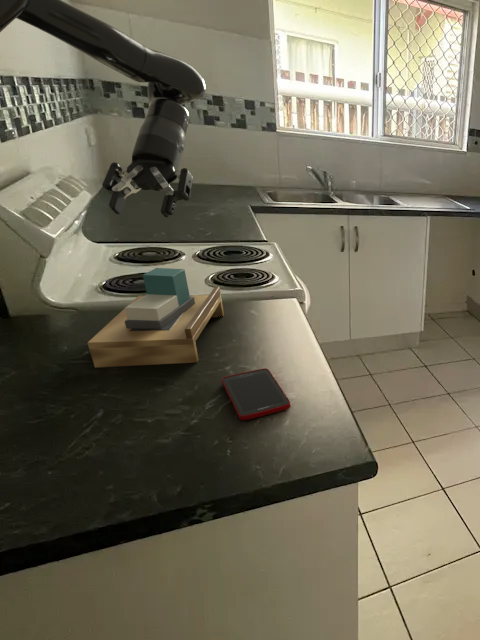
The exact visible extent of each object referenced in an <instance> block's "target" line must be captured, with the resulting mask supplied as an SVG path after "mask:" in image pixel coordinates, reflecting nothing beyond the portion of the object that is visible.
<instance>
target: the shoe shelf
mask: <svg viewBox="0 0 480 640" xmlns="http://www.w3.org/2000/svg"><path fill="white" fill-rule="evenodd" d="M189 295H190V294H189ZM143 296H144V295H138V296H137V297H136V298H134V299H133V300H132V301H131V302H130V303H129V304H128V305H130V304H132V303H133V302H135V301H137V300H138V299H140V298H142V297H143ZM190 297H194V300H195V304H194V305H192V306H191V307H190V308H189V309H187V310H186V311H185V312H183V313H182V314H181V315H179V316H178V317H177V318H175V319H174V320H173V321H171V322H170V323H169V324H167V325H166V326H165V327H163V328H162V329H136V328H126V325H125V320H127V319H128V318H127V315H126V311H125V308H123V310H121V311H120V312H119V313H118V314H117V315H116V316H114V317H113V319H111V321H109V322H108V323H107V324H105V326H104V327H103V328H101V330H99V331H98V332H97V333H96V334H95V335H94V336H93V337H92V338H91V339H90V340H88V341H87V346H88V350H89V353H90V356H91V359H92V363H93V367H94V368H95V369H96V368H114V367H115V368H116V367H133V366H134V367H135V366H154V365H155V366H156V365H174V364H190V363H191V364H193V363H194V364H195V363H198V362H199V360H200V358H199V354H198V349H197V344H196V343H197V342H196V341H197V340H198V338H199V337H200V335H201V334H202V332H203V331H204V329H205V327H206V326H207V324H208V323H209V321H210V319H211V318H223V317H224V316H225V311H224V306H223V300H222V294H221V287H220V286H214V287H213V289H212V290H211V291H210V293H209V294H208V295H207V294H205V295H204V294H203V295H201V294H200V295H199V294H198V295H196V294H195V295H190ZM218 316H219V317H218ZM220 316H221V317H220ZM222 316H223V317H222Z"/></svg>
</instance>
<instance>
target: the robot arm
mask: <svg viewBox="0 0 480 640" xmlns="http://www.w3.org/2000/svg"><path fill="white" fill-rule="evenodd" d="M16 19H17V20H19V21H22V22H23V23H25V24H28V25H30V26H33V27H34V28H36V29H38V30H40V31H42V32H45V34H48V35H50V36H52V37H54V38H56V39H57V40H60V41H61V42H63V43H65V44H67V45H69V46H71V47H72V48H74V49H76V50H77V51H78V52H81V53H83V54H84V55H86V56H88V57H90V58H91V59H94V60H95V61H97V62H99V63H101V64H103V65H104V66H105V67H107V68H110V69H112V70H114V71H116V72H117V73H119V74H121V75H123V76H125V77H127V78H129V79H130V80H132V81H134V82H138V83H147V100H148V108H147V111H146V114H145V117H144V120H143V122H142V124H141V126H140V128H139V131H138V134H137V137H136V140H135V143H134V146H133V150H132V152H131V153H132V154H131V162H130V164H128V165H127V166H123V165H119V163H118V162H114V161H113V162H112V163H110V165H109V168H108V170H107V172H106V175H105V177H104V180H103V183H102V184H101V185H102V187H103V188H104V189H105V190H106V192H107V193H108V194H109V195H111V197H110V200H109V203H108V207H109V208H110V209H111V210H112V212H113V213H115V215H122V214H123V211H124V208H125V205H126V201H127V198H128V197H129V196H130V195H132V194H137V193H138V192H140V191H141V190H142V191H151V190H152V191H155V192H160V191H161V190H164V192H165V193H166V195H164V196H163V200H162V204H161V207H160V213H161V215H162V216H163V217H164V218H168V219H169V218H171V216H173V215H174V214H175V211H176V207H177V203H178V202H180V201H186V202H187V201H189V200H190V199H191V193H192V187H193V181H194V177H193V175H192V174H191V172H190V171H189V170H188V169H187V167H183V168H181V169H180V170H179V167H180V163H181V160H182V156H183V152H184V150H185V149H184V148H185V145H186V144H185V142H186V135H187V131H188V127H189V124H190V114H189V111H188V109H187V108H186V107H185V106H184V105H185V104H188V103H192V102H194V101H197V100H200V99H201V98H203V97H204V95H205V94H206V89H207V88H206V83H205V80H204V78H203V77H202V76H201V74H200V73H199V72H198V71H197V70H196V69H195V68H194V67H193V66H192V65H190V64H189V63H187V62H186V61H183V60H181V59H179V58H177V57H174V56H171V55H169V54H166V53H164V52H161V51H158V50H155V49H152V48H150V47H147V46H145V45H144V44H142V42H139V41H138V40H136V39H135V38H133V37H131V36H129V35H128V34H126V33H125V32H123V31H121V30H120V29H118V28H116V27H114V26H112V25H111V24H109V23H107V22H105V21H103V20H101V19H99V18H97V17H95V16H94V15H91V14H89V13H87V12H85V11H83V10H81V9H79V8H77V7H75V6H73V5H71V4H69V3H67V2H65V1H63V0H0V33H1V32H3V31H4V30H5V29H6V28H7V27H8V26H9V25H11V23H13V22H14V20H16ZM177 179H178V185H177V190H174V189H173V188H172V186H171V184H172V183H174V182H175V181H176V180H177ZM132 181H133V183H134V184H133V185H132V184H131V182H132Z"/></svg>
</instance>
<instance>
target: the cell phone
mask: <svg viewBox="0 0 480 640" xmlns="http://www.w3.org/2000/svg"><path fill="white" fill-rule="evenodd" d="M221 382H222V386H223V388H224V389H225V392H226V394H227V396H228V398H229V400H230V402H231V403H232V406H233V408H234V410H235V413H236V415H237V416H238V418H239V419H240V421H249V420H253V419H256V418H260V417H264V416H267V415H272V414H275V413H279V412H283V411H286V410H288V409H290V408H291V407H292V406H291V401H290V399H289V397H288V396H287V394H286V393H285V391H284V390H283V388H282V387H281V386H280V384H279V383H278V381H277V380H276V378H275V377H274V375H273V374H272V372H271V371H270V369H268V368H259V369H254V370H250V371H245V372H239V373H236V374H235V373H234V374H231V375H227V376H224V377H222V378H221Z"/></svg>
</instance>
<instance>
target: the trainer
mask: <svg viewBox="0 0 480 640" xmlns="http://www.w3.org/2000/svg"><path fill="white" fill-rule="evenodd" d="M142 278H143V282H144V287H145V291H146V294H145V295H142V296H143V297H142V298H140V299H138V300H137V301H135V302H133V303H132V304H130V303H129V304H130V305H129V304H128V305H127V306H125V307H124V309H125V311H126V315H127V318H128V319H127V320H125V325H126V328H136V329H162V328H163V327H165V326H166V325H167V324H169V323H170V322H171V321H173V320H174V319H175V318H177V317H178V316H179V315H181V314H182V313H183V312H185V311H186V310H187V309H189V308H190V307H191V306H192V305H194V304H195V300H194V297H190V290H189V285H188V280H187V275H186V269H185V268H166V267H155V268H153V269H151V270H149V271H147V272H146V273H144V274H142Z"/></svg>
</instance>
